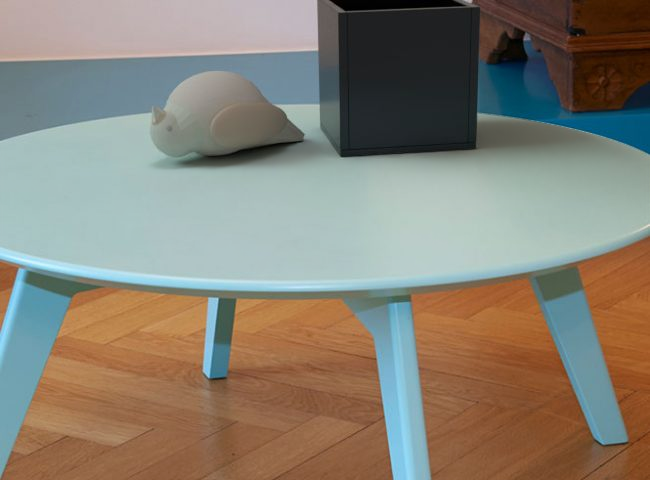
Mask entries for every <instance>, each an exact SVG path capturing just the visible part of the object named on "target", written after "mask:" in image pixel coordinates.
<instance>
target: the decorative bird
mask: <svg viewBox="0 0 650 480" xmlns="http://www.w3.org/2000/svg"><path fill="white" fill-rule="evenodd" d="M149 135H150V139H151V141H152V143H153V145H154V146H155V148H156V149H157V150H158V151H159V152H161V153H162V154H163V155H166V156H168V157H172V158H182V157H185V156H187V155H188V154H191V153H195V154H199V155H202V156H209V157H210V156H212V157H213V156H225V155H229V154H232V153H233V154H234V153H236V152H238V151H241V150H247V149H252V148H253V149H254V148H258V147H263V146H269V145H270V146H271V145H275V144H281V143H293V142H302V141H304V138H305V135H306V134H305V133H304V132H303V131H302V130H301V129H300V128H299V127H298V126H297V125H296V124H295V123H293V122H292V121H291V119H289V118H288V115H287V113H286V112H285V111H284V110H283V109H282V108H281V107H279V106H277V105H275V104H273V103H272V102H271V101H269V100H268V99H267V98H266V97H265V96H264V95H263V93H262V91H261V90H260V88H258V86H257V85H255V83H253V82H252V81H251V80H249V79H248V78H247V77H244V76H242V75H240V74H238V73H235V72H231V71H227V70H209V71H203V72H200V73H197V74H194V75H192V76H189V77H188V78H186V79H185V80H183V81H182V82H180V83H179V84H178V85H177V86H176V87H175V88H174V89H173V90H172V92H171V93H170V95H169V97H168V98H167V101H166V103H165V106H164V107H163V109H162V108H159V107H158V106H155V105H151V122H150V125H149Z"/></svg>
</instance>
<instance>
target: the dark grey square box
mask: <svg viewBox="0 0 650 480" xmlns="http://www.w3.org/2000/svg"><path fill="white" fill-rule="evenodd" d="M316 9H317V13H316V14H317V48H318V49H317V50H318V51H317V52H318V55H317V56H318V57H317V58H318V94H319V95H318V96H319V128H320V129H321V131H322V132H323V134H324V135H325V136H326V137H327V140H329V142H330V143H331V145H332V147H333V148H334V149H335V151H336V152H337V153H338V155H339V156H340V157H342V158H343V157H359V156H361V157H362V156H375V155H376V156H377V155H378V156H379V155H390V154H391V155H393V154H396V155H397V154H410V153H411V154H412V153H428V152H446V151H463V150H476V149H477V139H478V138H477V137H478V136H477V135H478V133H477V132H478V105H479V104H478V103H479V102H478V99H479V70H480V69H479V68H480V67H479V65H480V35H481V33H480V29H481V6H478V5H476V4H474V3H472V2H469V1H466V0H316Z"/></svg>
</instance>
